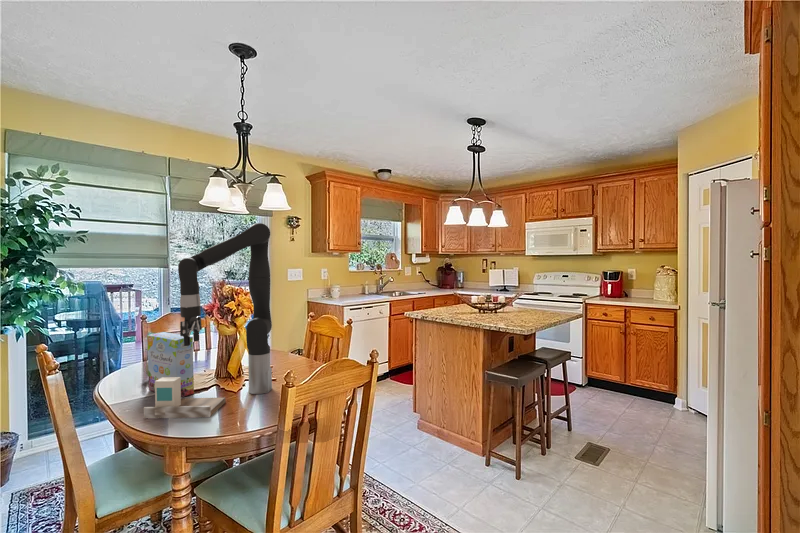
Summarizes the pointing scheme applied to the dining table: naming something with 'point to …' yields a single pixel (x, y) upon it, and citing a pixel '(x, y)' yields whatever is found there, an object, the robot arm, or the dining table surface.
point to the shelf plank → (186, 408)
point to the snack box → (170, 360)
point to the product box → (168, 392)
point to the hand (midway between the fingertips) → (192, 343)
